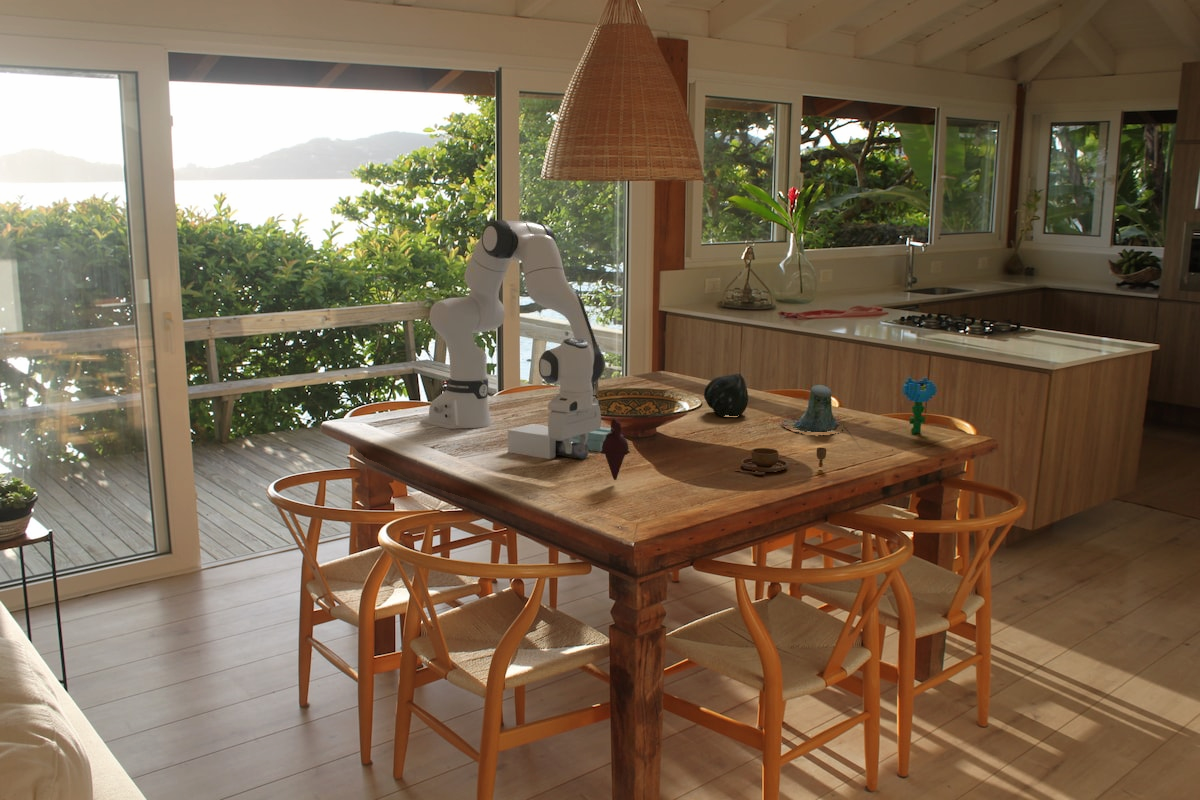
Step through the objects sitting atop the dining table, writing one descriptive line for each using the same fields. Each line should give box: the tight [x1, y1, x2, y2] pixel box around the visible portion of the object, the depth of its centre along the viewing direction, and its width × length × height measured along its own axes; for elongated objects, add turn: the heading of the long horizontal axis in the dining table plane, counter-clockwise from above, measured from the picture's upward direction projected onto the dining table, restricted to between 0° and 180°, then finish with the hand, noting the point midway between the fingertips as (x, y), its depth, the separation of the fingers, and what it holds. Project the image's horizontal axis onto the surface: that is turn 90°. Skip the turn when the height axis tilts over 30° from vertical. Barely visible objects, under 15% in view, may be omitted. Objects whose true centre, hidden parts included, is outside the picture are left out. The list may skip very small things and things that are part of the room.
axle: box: [555, 440, 590, 460], centre depth 278 cm, size 14×4×4 cm, turn 57°
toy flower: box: [901, 376, 937, 435], centre depth 304 cm, size 9×9×18 cm
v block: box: [573, 426, 624, 453], centre depth 292 cm, size 12×12×4 cm
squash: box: [703, 373, 749, 417], centre depth 331 cm, size 14×15×15 cm
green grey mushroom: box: [781, 384, 840, 432], centre depth 312 cm, size 18×20×18 cm
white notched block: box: [507, 423, 573, 460], centre depth 282 cm, size 14×11×6 cm
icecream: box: [599, 418, 631, 481], centre depth 252 cm, size 7×7×15 cm
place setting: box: [740, 447, 827, 476], centre depth 267 cm, size 18×20×6 cm
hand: (575, 451), depth 276 cm, fingers closed on axle, 4 cm apart
